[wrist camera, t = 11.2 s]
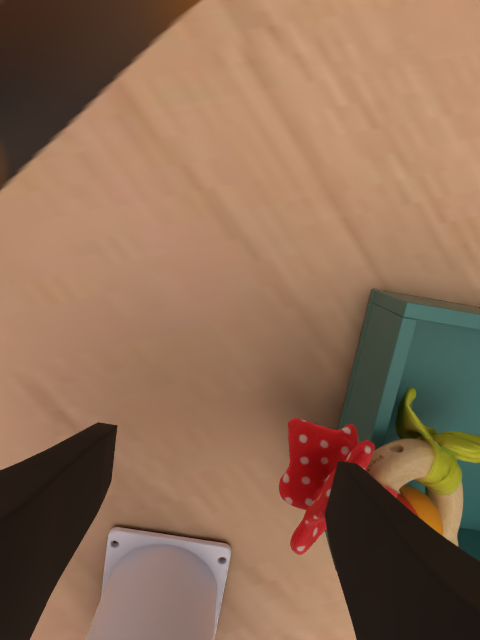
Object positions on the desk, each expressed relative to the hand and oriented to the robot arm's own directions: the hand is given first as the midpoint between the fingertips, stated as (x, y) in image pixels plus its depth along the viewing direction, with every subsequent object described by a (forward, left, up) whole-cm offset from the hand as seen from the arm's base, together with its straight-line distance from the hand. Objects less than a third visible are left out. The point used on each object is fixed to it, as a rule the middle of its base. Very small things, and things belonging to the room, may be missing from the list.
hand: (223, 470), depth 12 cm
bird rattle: (-3, -12, -6) cm, 14 cm away
